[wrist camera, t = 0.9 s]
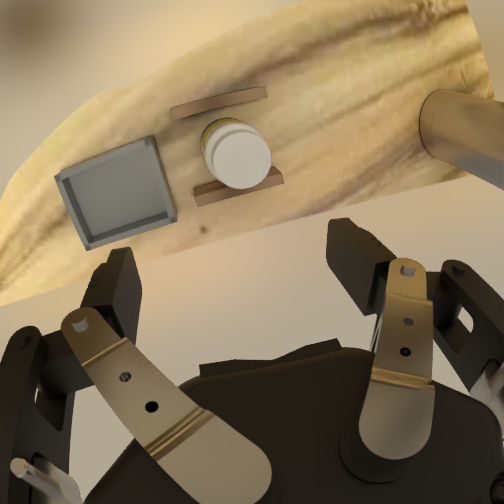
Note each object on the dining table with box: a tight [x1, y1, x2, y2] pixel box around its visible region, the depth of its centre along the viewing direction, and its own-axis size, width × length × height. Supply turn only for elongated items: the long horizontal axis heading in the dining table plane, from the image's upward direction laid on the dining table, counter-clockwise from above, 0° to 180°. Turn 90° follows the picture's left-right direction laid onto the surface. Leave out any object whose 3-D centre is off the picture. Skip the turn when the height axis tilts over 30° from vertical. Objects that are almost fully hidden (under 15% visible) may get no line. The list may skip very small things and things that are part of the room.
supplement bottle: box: [200, 118, 272, 189], centre depth 23 cm, size 5×5×8 cm
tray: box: [54, 135, 177, 251], centre depth 26 cm, size 10×8×2 cm
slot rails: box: [170, 86, 284, 207], centre depth 26 cm, size 8×9×2 cm
